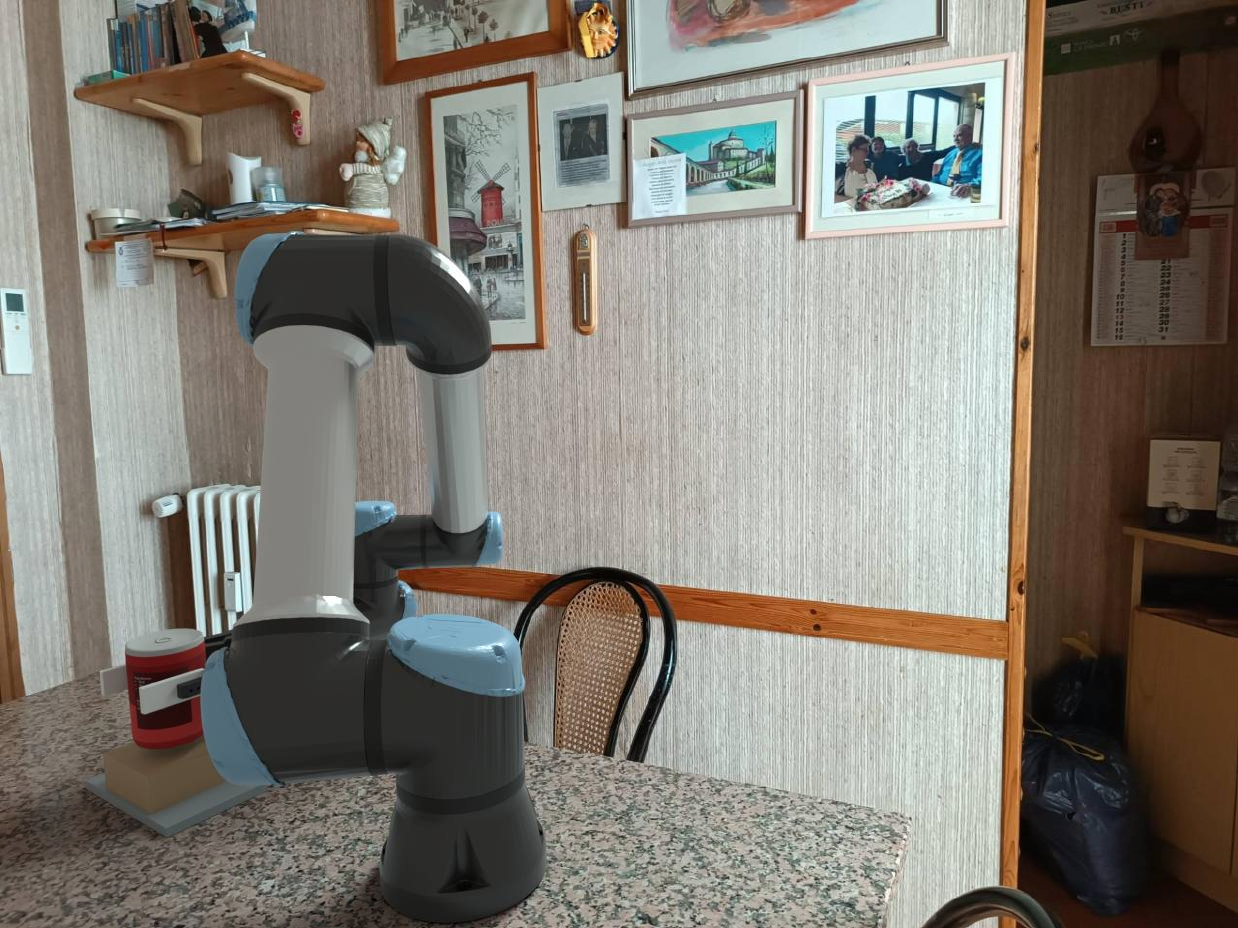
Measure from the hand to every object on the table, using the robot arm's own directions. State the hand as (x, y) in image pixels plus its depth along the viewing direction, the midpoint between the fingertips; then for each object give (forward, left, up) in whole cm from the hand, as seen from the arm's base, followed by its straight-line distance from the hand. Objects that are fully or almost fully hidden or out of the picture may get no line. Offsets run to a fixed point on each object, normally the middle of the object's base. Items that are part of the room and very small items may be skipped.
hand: (121, 691), depth 84 cm
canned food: (0, -5, -7) cm, 8 cm away
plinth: (0, -5, -13) cm, 14 cm away
